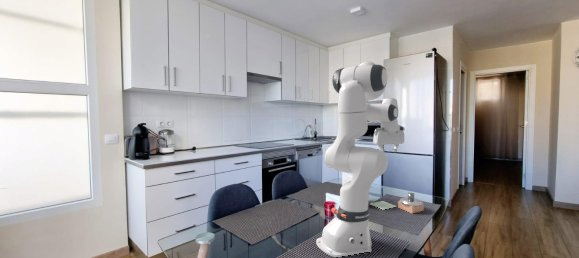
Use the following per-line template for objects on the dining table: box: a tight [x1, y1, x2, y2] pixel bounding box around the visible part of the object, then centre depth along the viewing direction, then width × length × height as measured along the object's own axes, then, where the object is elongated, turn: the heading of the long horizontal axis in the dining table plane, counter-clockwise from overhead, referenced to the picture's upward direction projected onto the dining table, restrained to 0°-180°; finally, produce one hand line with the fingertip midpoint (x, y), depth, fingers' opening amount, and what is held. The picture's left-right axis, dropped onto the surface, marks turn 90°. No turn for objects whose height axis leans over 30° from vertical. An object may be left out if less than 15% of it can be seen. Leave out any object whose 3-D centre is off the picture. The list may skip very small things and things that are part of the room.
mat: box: [369, 200, 397, 211], centre depth 144 cm, size 10×10×1 cm
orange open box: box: [397, 200, 425, 215], centre depth 138 cm, size 9×9×4 cm
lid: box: [399, 192, 423, 206], centre depth 138 cm, size 11×11×5 cm
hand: (388, 152), depth 142 cm, fingers open, 8 cm apart
